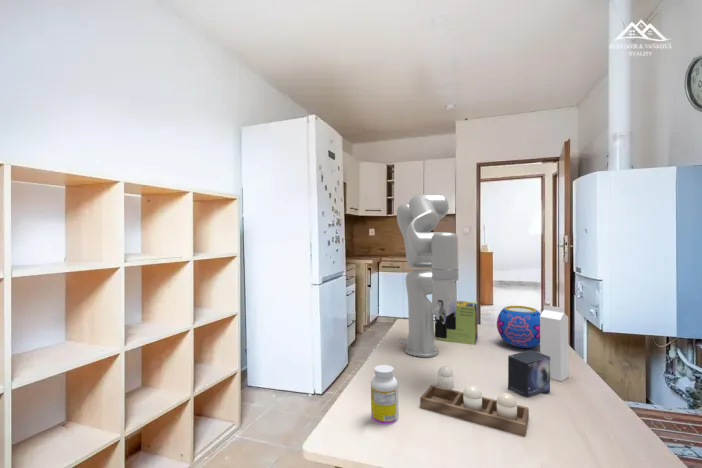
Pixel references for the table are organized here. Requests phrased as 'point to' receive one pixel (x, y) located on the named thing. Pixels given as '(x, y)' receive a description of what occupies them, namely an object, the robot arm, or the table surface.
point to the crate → (453, 406)
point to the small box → (529, 373)
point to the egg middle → (472, 398)
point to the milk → (555, 341)
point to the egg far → (507, 406)
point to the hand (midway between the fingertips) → (445, 333)
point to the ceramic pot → (519, 326)
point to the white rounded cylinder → (445, 378)
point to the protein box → (464, 324)
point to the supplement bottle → (384, 396)
